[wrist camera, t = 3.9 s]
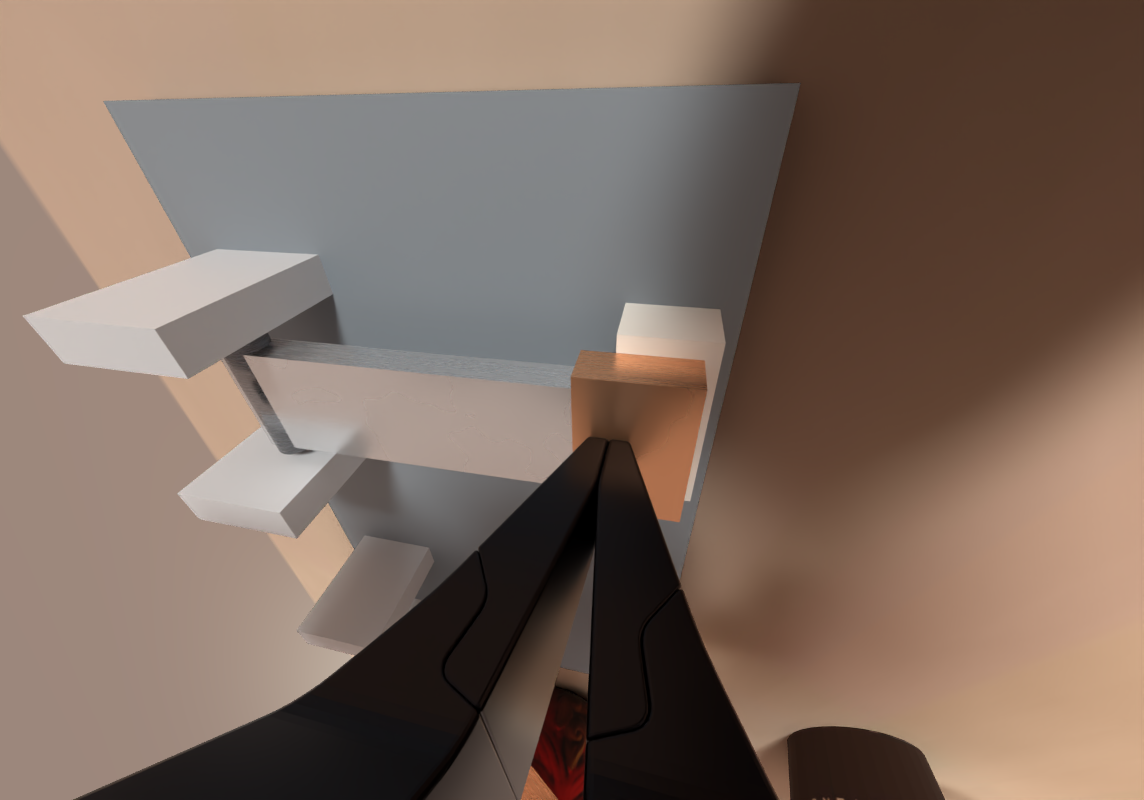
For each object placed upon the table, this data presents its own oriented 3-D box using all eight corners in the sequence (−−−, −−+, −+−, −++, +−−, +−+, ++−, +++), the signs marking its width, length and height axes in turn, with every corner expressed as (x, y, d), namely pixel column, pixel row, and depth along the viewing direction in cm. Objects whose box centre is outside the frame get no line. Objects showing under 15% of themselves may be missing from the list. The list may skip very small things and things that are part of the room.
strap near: (704, 357, 8) (707, 390, 7) (679, 485, 10) (679, 522, 9) (237, 318, 10) (195, 340, 9) (299, 433, 12) (269, 459, 11)
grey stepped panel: (788, 83, 7) (908, 79, 3) (654, 667, 22) (647, 795, 18) (149, 100, 10) (-207, 108, 6) (408, 611, 24) (354, 713, 20)
